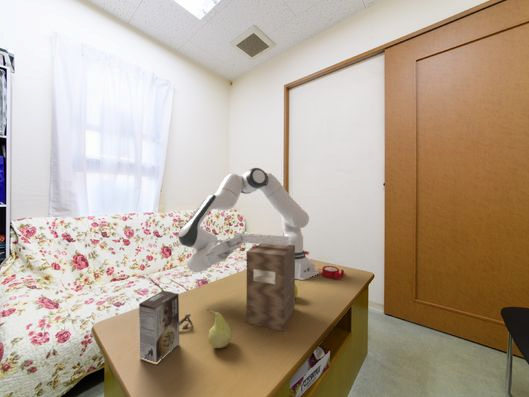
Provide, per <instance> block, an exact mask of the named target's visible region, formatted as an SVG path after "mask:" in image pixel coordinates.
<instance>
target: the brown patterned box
mask: <svg viewBox="0 0 529 397" xmlns="http://www.w3.org/2000/svg"><path fill="white" fill-rule="evenodd" d="M295 280H296V279H295V245H287V246H279V245H267V244H258V245H256V246H254V247H252V248H250V249H249V250H247V251H246V324H250V325H254V326H259V327H263V328H267V329H270V330H271V329H272V330H276V331H280V332H285V330H286V328H287V326H288V324H289V322H290V320H291V317H292V316H293V313H294V311H295V308H296V306H295V305H296V298H295V285H296V281H295Z"/></svg>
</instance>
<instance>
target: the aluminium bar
mask: <svg viewBox="0 0 529 397" xmlns="http://www.w3.org/2000/svg"><path fill="white" fill-rule="evenodd" d="M238 236H241V237H242V240H241V241H239V242H244V244H245V243H248V244H256V245H257V244H258V245H259V244H267V245H279V246H287V245H289V236H284V235H272V234H259V233H257V234H256V233H242V232H241V233H240V232H236V233H233V238H234V239H235V238H237V237H238Z"/></svg>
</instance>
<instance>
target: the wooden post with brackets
mask: <svg viewBox="0 0 529 397" xmlns="http://www.w3.org/2000/svg"><path fill="white" fill-rule="evenodd" d="M191 315H192V314H191V313H187V314H185V316H184V317H183V318H182V319H180V320H179V327H180V326H181V325H182V329H183V330H185V329H187V328H188V327H189V325H190V326H193V322H192V320H191V319H190V318H191ZM184 322H187V323H185V324H184ZM183 324H184V325H183Z"/></svg>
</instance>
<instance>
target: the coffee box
mask: <svg viewBox="0 0 529 397" xmlns="http://www.w3.org/2000/svg"><path fill="white" fill-rule="evenodd" d="M179 299H180V298H179V293H177V292H173V291H167V290H161V291H160V292H158V293H156V294H154V295H152V296H150V297H149V298H147V299H146V300H144V301H142V302H139V305H138V306H139V307H138V308H139V310H138V312H139V313H138V314H139V317H138V318H139V358H140V357H141V358H144V359H147V360H150V361H153V362H158V361H159V360H160V359H162V358H163V357H164V356H165V355H166V354H167V353H168V352H169V351H171V350H172V349H173V348H175V347H176V346H177V345H178V344H179V345H180V326H179V321H180V313H179V312H180V308H179V307H180V305H179V303H180V302H179ZM179 345H178V346H179ZM178 346H177V347H178ZM177 347H176V348H177ZM176 348H175V349H176ZM171 352H172V351H171Z"/></svg>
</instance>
